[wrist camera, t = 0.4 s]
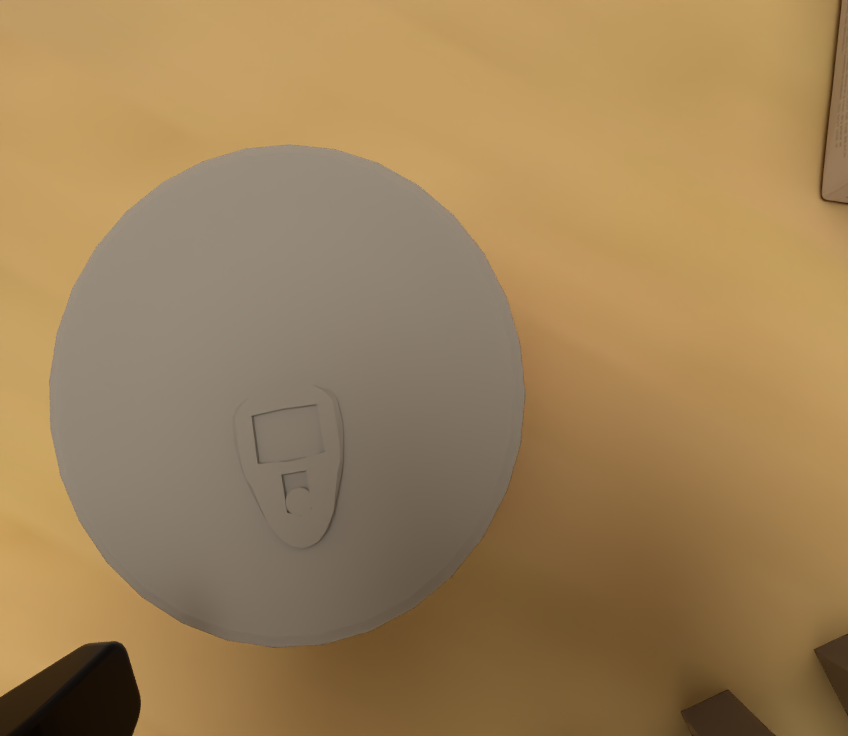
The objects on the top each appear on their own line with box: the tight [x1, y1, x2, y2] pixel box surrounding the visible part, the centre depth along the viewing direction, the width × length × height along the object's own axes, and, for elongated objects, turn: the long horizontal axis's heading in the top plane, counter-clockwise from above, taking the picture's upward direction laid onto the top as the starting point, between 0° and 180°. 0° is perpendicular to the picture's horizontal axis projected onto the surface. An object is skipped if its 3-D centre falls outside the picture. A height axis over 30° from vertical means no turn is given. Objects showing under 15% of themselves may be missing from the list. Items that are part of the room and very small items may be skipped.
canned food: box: [49, 145, 525, 648], centre depth 15 cm, size 8×8×11 cm
